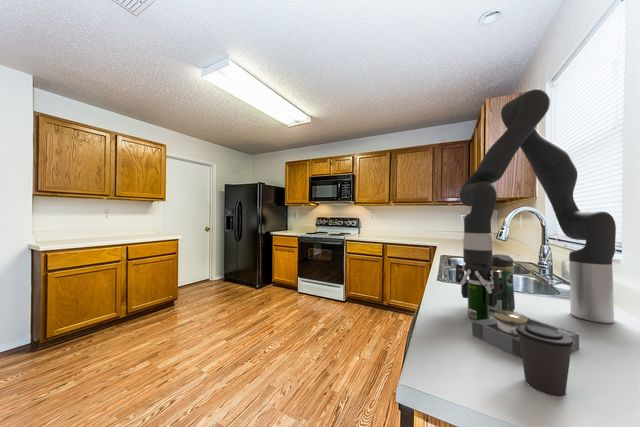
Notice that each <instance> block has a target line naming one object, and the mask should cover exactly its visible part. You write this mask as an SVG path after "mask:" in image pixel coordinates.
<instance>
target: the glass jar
mask: <svg viewBox="0 0 640 427" xmlns="http://www.w3.org/2000/svg"><path fill="white" fill-rule="evenodd" d="M527 317H528V316H526V315H524V314H522V313H520V312H515V311H506V310H496V311H494V312H493V318H495V319H497V323H498V331H501V332H503V333H505V334H508V335H510V336H513V337H515V338H516V337H519V335H518V333H517V332H516V331H515V329H516V328H517V326H519V325H526V324H527Z"/></svg>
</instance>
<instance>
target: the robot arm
mask: <svg viewBox="0 0 640 427" xmlns="http://www.w3.org/2000/svg"><path fill="white" fill-rule="evenodd" d="M550 106H551V98H550V96H549V94H548V93H547V92H546V91H544V90H541V89H537V88H536V89H531V90H529V91H526V92H524V93H522V94H521V95H519V96H517V97H515V98H514V99H511V100H510V101H508V102H507V103H505V104H504V105H503V107H502V108H501V111H500V117H501V120H502V122H503V124H504V126H505V128H506V130H505V131H504V132H503V134H502V135H501V136H500V137H499V138H498V139H497V140H496V141H495V142H494V143H493V144H492V145H491V146H490V148H489V149H488V150H487V151H486V153H485V155H484V156H483V158H482V160H481V161H480V163H479V164H478V167H477V169H476V170H475V171H474V172H473V174H472V175H471V174H470V175H471V176H470V177H468V179H467V180H466V181H465V183H463V185H462V187H461V189H460V192H459V195H458V196H459V200H460V203H461V204H463V205H464V206H467V207H471V209H470V212H469V213H468V214H466V215H465V216H464V218H463V238H462V240H463V241H462V242H463V245H462V246H463V247H462V248H463V250H462V251H463V253H462V254H463V258H462V259H463V262H464V263H456V265H455V278H454V279H455V282H456V283H458V284H460V287H461V288H460V289H461V290H460V291H461V292H460V293H461V295H462V298H463V299H468V280H469V278H470V279H474V280H477V281H481V283H482V285H483V286H485V288H486V289H487V291H488V292H489V293H488V306H490V307H493V306H495V305H496V304H497V293H501V292H504V277H503V272H502V271H493V270H492V268H491V265H492V263H493V257H492V255H493V237H492V217H493V214H494V210H495V207H496V204H497V199H498V198H497V190H496V187H495V186H494V185H493V184H494V183H496V182H497V181H499V180H501V179H502V177H503V176H504V174H505V172H506V170H507V168H508V166H509V165H510V164H511V161H512V160H513V158H514V157H515V154H516V153H517V152H518V150H519V149H521V151H522V153H523V154H524V156H525V158H526V159H527V161H528V162H529V164H530V167H531V168H532V170H533V173H534V175H535V177H536V178H537V180H538V182H539V183H540V185H541V187H542V189H543V190H544V192H545V194H546V196H547V198H548V201H549V202H550V204H551V207H552V210H553V212H554V214H555V217H556V219H557V222H558V225H559V227H560V229H561V231H562V233H563V235H564V236H566V237H567V238H569V239H572V240H575V241H576V240H577V241H585V245H584V246H583V247H582V248H579V249H577V250H572V251H570V252H569V255H568V259H569V260H568V262H569V265H568V266H569V268H568V269H569V298H570V299H569V301H570V302H569V304H570V305H569V306H570V314H571V316H573V317H576V318H579V319H582V320H585V321H588V322H589V321H590V322H595V323H596V322H597V323H602V324H613V323H615V312H614V310H615V309H614V308H615V305H614V304H615V302H614V277H613V276H614V274H613V259H614V256H615V253H616V234H617V226H616V225H617V224H616V221H615V219H614V217H613V216H612V215H611V214H610V213H609V212H608V211H607V212H606V211H603V210H595V211H592V210H591V211H590V210H589V211H588V210H587V211H581V210H580V209H579V207H578V206H577V204H576V202H575V200H574V191H575V187H576V184H577V181H578V168H576V165H575V163H574V162H573V160H572V158H571V156H570V154H569V152H567V151H566V150H565V149H564V148H562V147H561V146H559V145H557V144H556V143H554V142H553V141H551V140H549V139H547V138H546V137H544V136H543V135H542V134H541V133H540V132H539V131H538V129H537V128H536V127H537V126H538V125H539V124H540V122H541V120H543V119H544V117H545V116H546V115H547V113H548V111H549V110H550ZM491 275H492V277H493V280H492V278H491ZM487 280H488V282H486V281H487Z"/></svg>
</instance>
